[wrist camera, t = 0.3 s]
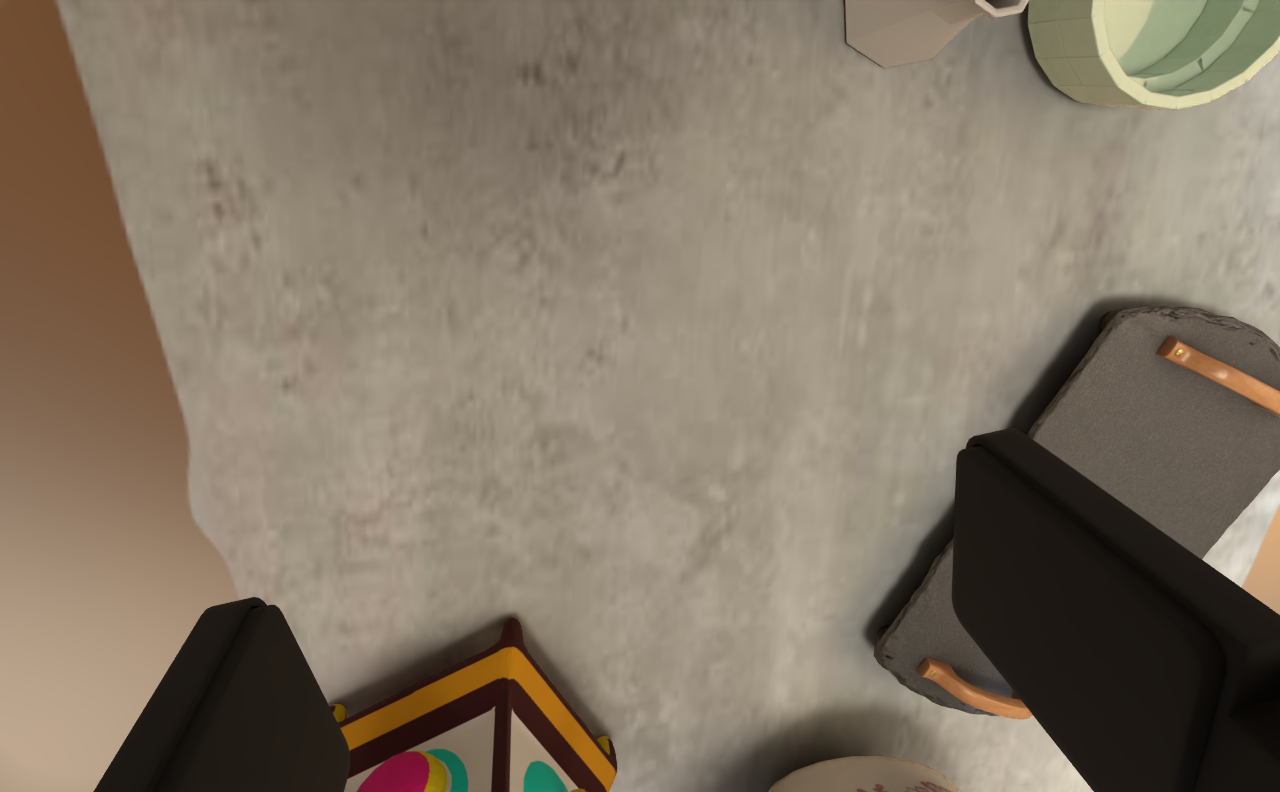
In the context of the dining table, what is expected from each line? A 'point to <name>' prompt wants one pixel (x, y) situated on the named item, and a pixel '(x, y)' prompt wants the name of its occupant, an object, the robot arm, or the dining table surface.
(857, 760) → the chamber pot
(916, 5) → the flask
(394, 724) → the decorative lantern
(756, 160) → the dining table surface
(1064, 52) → the basin
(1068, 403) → the serving tray
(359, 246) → the dining table surface
